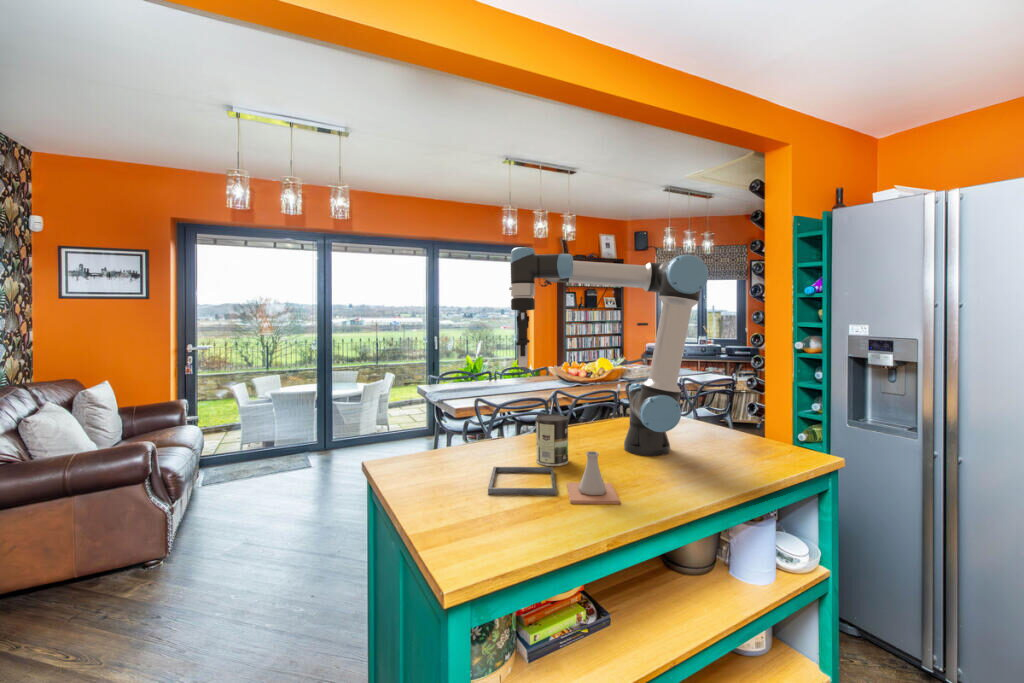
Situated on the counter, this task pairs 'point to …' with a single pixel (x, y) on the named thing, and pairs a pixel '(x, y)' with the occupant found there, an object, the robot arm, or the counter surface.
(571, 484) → the terracotta tile
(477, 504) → the counter surface
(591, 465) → the flask
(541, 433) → the coffee can
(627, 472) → the counter surface
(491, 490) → the steel frame
